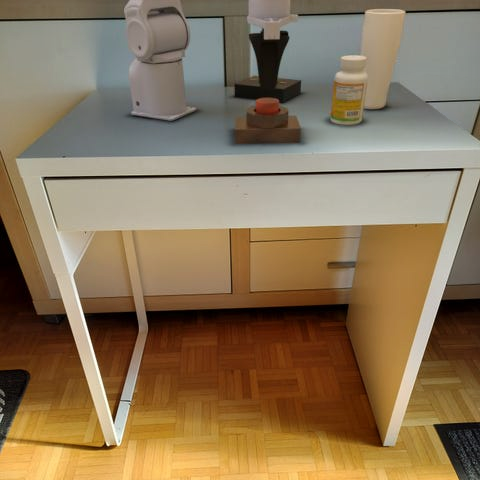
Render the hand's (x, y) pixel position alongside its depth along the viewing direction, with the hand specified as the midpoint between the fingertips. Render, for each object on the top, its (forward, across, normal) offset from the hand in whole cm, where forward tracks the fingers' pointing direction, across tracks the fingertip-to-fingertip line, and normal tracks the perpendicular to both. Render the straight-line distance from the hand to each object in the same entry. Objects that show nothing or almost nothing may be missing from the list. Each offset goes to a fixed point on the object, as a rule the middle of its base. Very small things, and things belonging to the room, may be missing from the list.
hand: (267, 88), depth 68 cm
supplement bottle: (+7, +8, -14) cm, 18 cm away
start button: (+3, 0, 0) cm, 3 cm away
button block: (+7, 0, 0) cm, 7 cm away
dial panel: (+7, +27, -2) cm, 28 cm away
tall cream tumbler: (+7, +17, -20) cm, 27 cm away
